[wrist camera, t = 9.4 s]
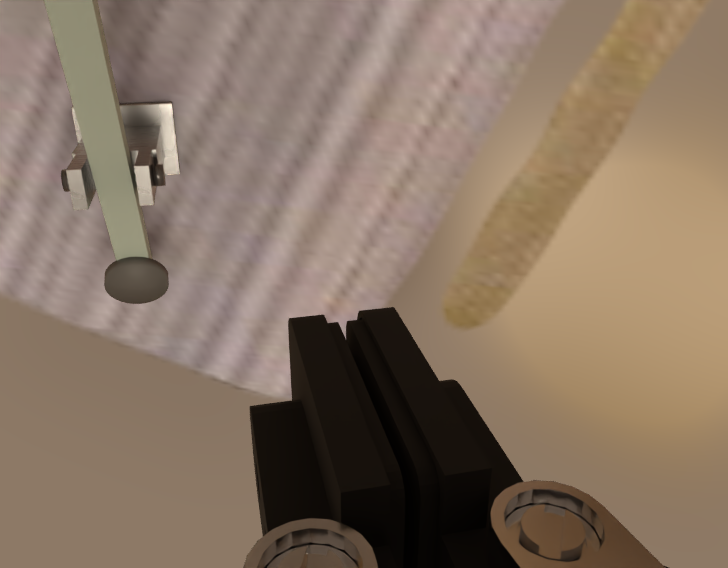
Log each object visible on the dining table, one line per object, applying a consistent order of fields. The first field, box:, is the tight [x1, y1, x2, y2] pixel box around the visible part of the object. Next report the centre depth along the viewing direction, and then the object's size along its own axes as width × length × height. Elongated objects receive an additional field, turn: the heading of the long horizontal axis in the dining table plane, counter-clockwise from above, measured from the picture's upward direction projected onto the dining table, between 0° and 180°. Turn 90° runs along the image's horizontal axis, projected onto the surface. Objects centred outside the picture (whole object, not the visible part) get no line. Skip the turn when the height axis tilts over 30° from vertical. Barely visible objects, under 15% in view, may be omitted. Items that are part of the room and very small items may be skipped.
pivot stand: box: [61, 102, 180, 210], centre depth 34 cm, size 4×5×10 cm
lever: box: [44, 0, 169, 304], centre depth 28 cm, size 25×3×2 cm, turn 1°
